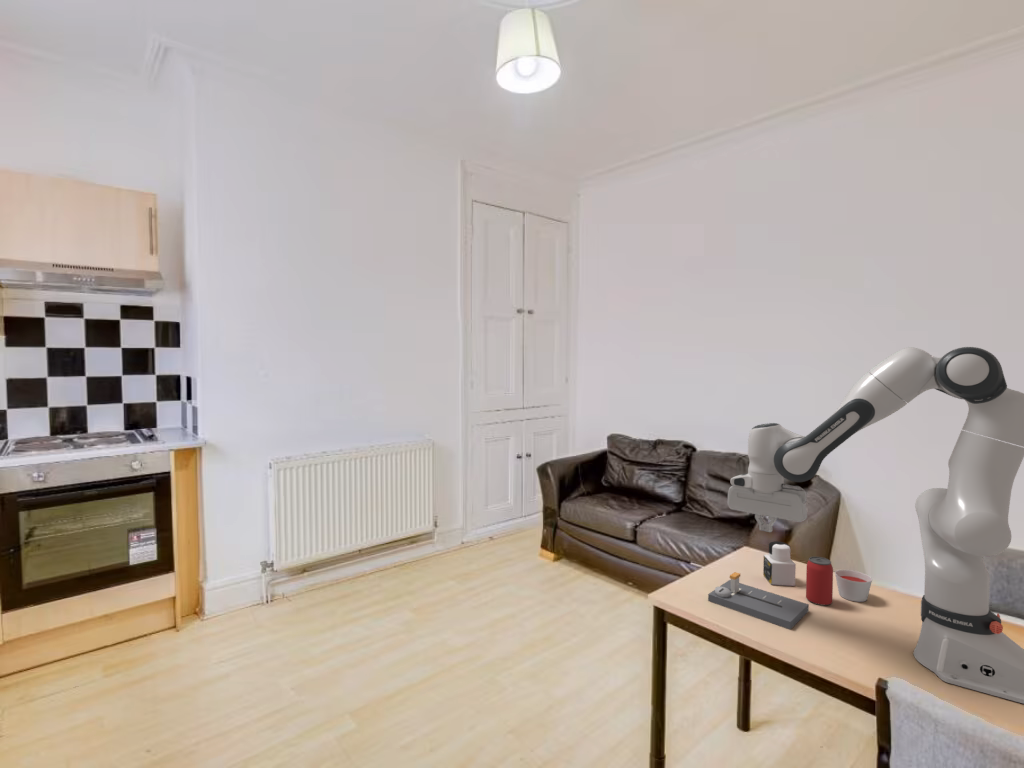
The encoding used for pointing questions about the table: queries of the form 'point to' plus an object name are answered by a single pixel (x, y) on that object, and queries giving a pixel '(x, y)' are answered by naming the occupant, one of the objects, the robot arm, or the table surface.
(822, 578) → the beer can
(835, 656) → the table surface
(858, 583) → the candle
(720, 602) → the console
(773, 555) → the medicine bottle
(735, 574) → the fader
